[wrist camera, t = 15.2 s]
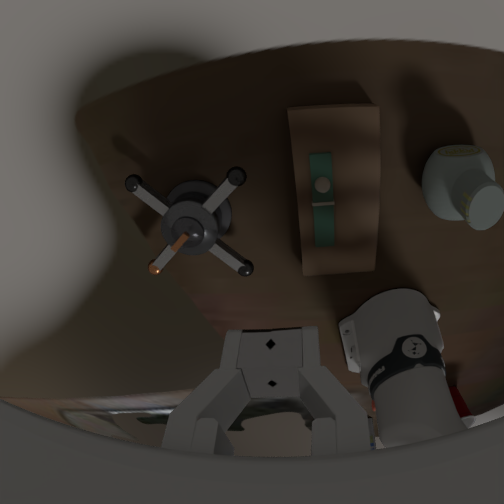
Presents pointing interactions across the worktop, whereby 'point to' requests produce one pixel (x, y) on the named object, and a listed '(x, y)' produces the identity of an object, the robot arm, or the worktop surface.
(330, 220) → the level stand
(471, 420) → the plastic cup
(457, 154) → the air freshener
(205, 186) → the pedestal
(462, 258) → the worktop surface
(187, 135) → the worktop surface
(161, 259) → the capstan
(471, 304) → the worktop surface
